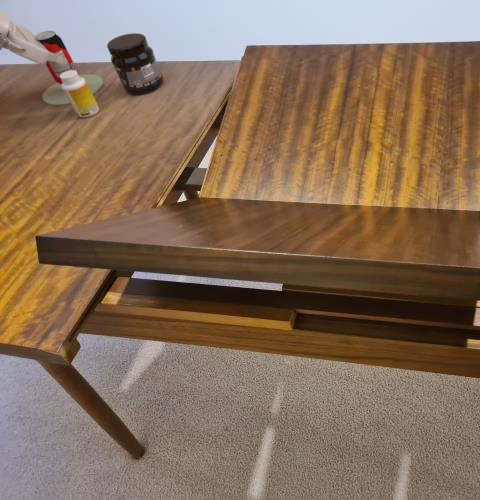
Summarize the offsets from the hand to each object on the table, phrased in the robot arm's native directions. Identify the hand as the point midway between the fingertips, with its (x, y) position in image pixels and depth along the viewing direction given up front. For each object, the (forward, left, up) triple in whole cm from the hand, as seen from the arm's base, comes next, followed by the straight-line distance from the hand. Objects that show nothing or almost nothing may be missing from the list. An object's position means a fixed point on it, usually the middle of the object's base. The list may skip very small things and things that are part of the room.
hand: (58, 56), depth 118 cm
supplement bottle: (+13, -9, -9) cm, 18 cm away
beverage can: (0, -1, -7) cm, 7 cm away
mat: (-1, 0, -9) cm, 9 cm away
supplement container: (+19, +6, -9) cm, 22 cm away
